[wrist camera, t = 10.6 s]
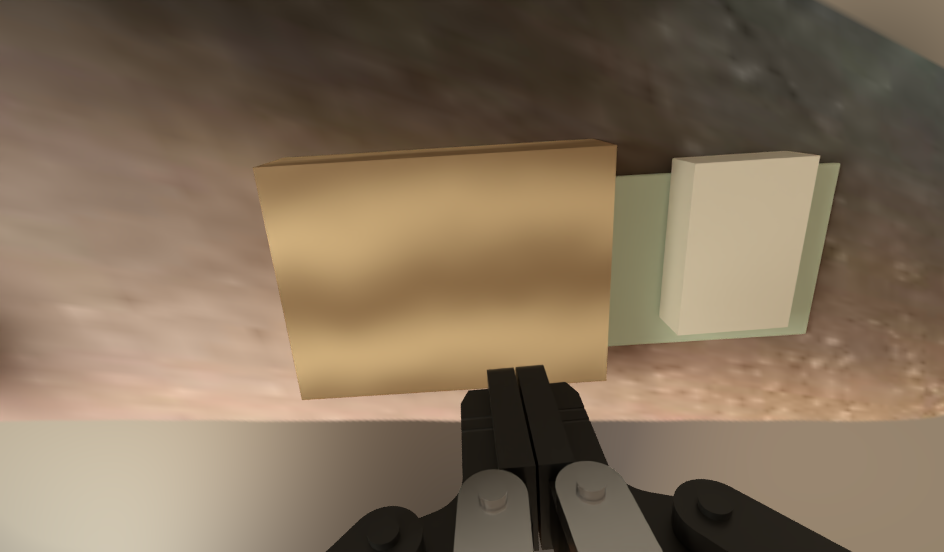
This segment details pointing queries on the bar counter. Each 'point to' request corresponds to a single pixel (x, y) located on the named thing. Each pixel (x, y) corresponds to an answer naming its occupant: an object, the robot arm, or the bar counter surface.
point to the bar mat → (643, 259)
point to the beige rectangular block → (735, 240)
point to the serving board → (442, 264)
